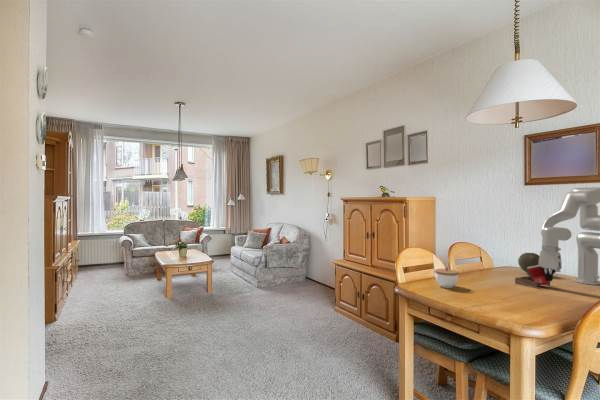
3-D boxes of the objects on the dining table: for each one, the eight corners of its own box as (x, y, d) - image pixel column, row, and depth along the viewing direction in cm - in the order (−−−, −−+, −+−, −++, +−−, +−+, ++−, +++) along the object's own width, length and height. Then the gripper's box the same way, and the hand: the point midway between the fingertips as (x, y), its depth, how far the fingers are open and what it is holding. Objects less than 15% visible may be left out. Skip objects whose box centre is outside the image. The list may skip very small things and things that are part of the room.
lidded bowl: (451, 290, 184) (452, 270, 184) (430, 285, 194) (430, 267, 194) (462, 287, 192) (462, 268, 192) (441, 282, 202) (441, 264, 202)
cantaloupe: (538, 273, 233) (538, 251, 233) (546, 277, 219) (547, 255, 219) (515, 271, 237) (515, 250, 237) (522, 275, 223) (522, 253, 223)
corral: (529, 281, 208) (529, 275, 208) (550, 285, 197) (550, 280, 197) (515, 283, 202) (515, 277, 202) (536, 288, 191) (536, 282, 191)
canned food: (552, 283, 191) (545, 264, 194) (538, 285, 191) (531, 266, 194) (544, 283, 198) (537, 265, 201) (530, 285, 199) (524, 267, 202)
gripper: (568, 250, 186) (567, 283, 186) (539, 247, 199) (538, 277, 199) (561, 251, 183) (560, 284, 183) (532, 247, 196) (531, 278, 196)
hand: (549, 280), depth 191 cm, fingers closed
